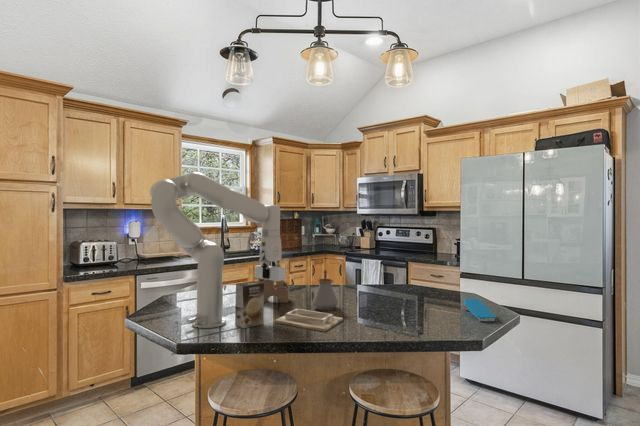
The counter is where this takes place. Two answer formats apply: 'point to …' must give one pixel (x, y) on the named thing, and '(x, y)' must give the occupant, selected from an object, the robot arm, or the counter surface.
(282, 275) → the white block
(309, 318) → the cradle
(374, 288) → the counter surface
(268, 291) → the wooden toy
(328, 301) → the coffee pot
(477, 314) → the blue block
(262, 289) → the coffee box
